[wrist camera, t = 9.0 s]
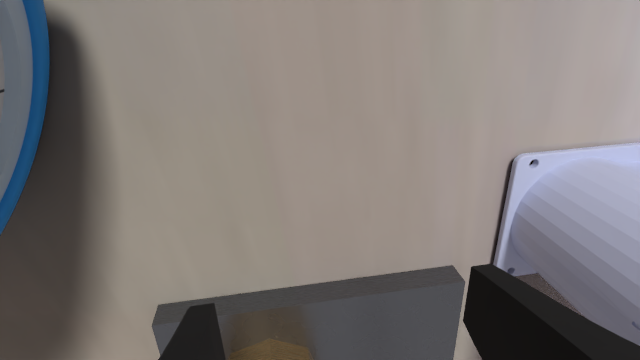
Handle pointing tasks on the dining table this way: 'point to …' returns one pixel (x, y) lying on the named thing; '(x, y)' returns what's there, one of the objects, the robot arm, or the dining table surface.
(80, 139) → the dining table surface
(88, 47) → the dining table surface
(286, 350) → the wooden octagonal tube
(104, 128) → the dining table surface
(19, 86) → the alarm clock
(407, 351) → the plate
